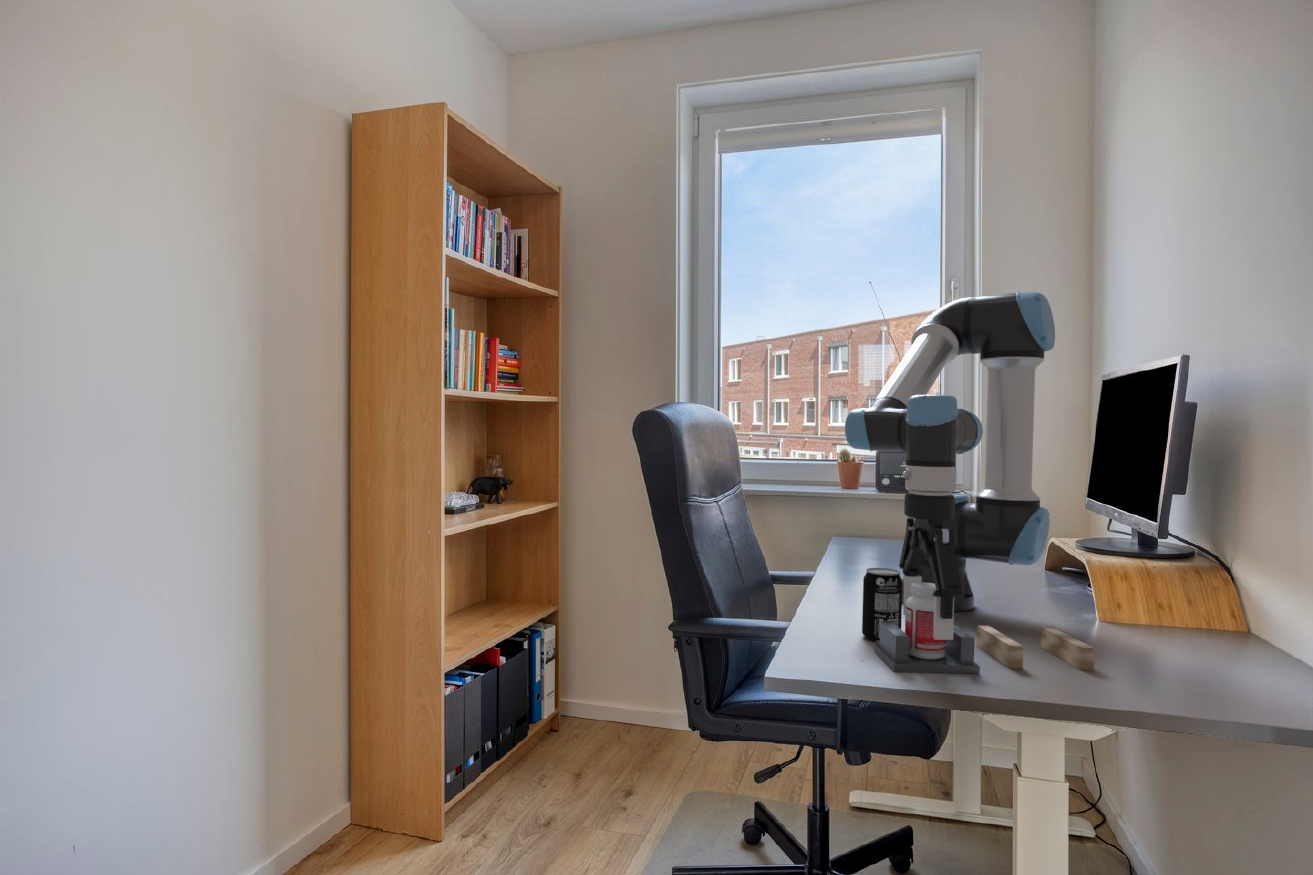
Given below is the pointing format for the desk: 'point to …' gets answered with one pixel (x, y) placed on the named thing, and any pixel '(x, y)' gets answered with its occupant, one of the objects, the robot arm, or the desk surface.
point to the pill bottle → (922, 623)
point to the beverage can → (881, 600)
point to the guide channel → (1050, 641)
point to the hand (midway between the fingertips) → (926, 626)
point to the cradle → (899, 660)
